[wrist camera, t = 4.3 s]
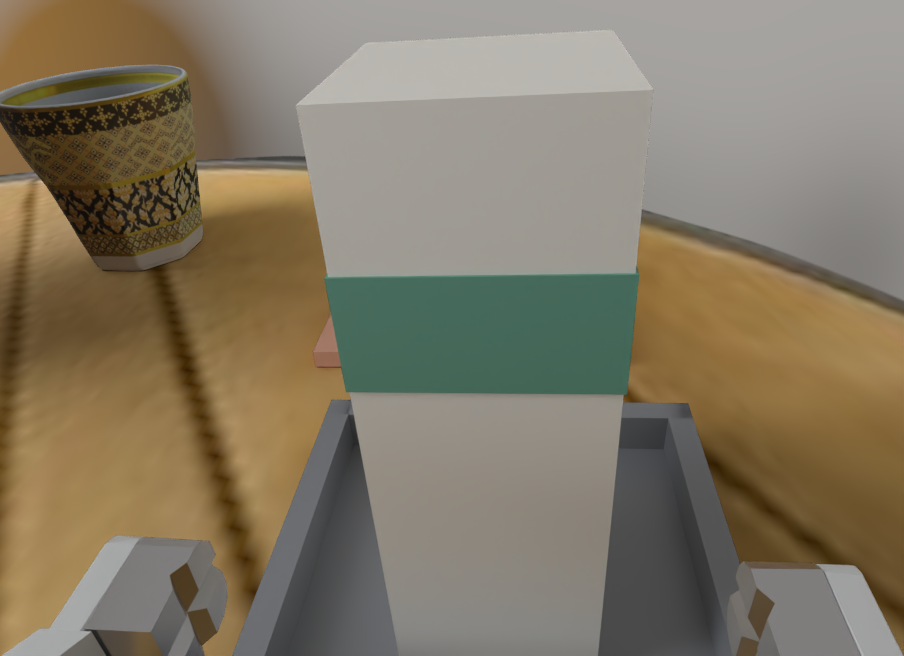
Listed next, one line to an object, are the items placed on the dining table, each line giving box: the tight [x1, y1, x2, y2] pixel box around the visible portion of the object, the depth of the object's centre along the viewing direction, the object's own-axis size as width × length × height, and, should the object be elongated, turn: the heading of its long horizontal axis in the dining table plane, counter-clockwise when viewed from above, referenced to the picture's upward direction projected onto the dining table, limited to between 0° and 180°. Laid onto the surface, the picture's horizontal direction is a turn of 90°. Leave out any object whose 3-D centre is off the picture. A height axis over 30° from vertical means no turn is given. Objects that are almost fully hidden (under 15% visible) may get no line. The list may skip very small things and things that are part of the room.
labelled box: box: [296, 30, 653, 656], centre depth 15 cm, size 5×5×14 cm
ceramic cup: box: [0, 65, 203, 271], centre depth 40 cm, size 13×10×10 cm
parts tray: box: [232, 400, 740, 656], centre depth 19 cm, size 13×13×2 cm
